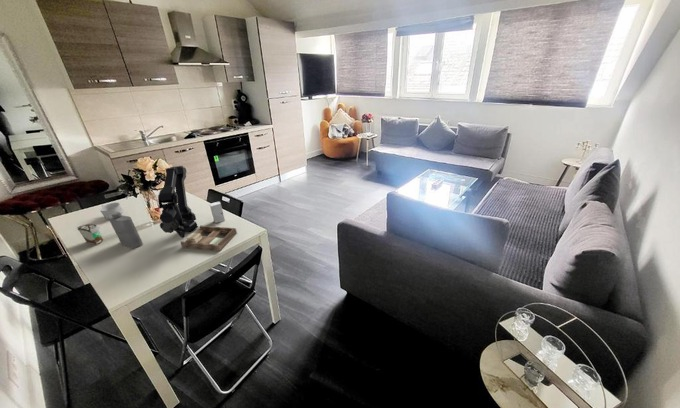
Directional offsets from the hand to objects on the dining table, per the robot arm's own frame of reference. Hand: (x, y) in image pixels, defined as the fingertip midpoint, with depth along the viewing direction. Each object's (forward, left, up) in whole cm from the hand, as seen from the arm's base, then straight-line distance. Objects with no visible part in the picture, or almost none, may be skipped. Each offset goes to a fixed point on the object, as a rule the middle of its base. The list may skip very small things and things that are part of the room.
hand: (183, 237), depth 146 cm
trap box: (+13, +4, -3) cm, 14 cm away
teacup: (-71, +20, -3) cm, 74 cm away
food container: (-53, -6, -3) cm, 53 cm away
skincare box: (+6, +24, -3) cm, 25 cm away
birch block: (+7, 0, -1) cm, 7 cm away
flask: (-30, -6, -3) cm, 31 cm away
